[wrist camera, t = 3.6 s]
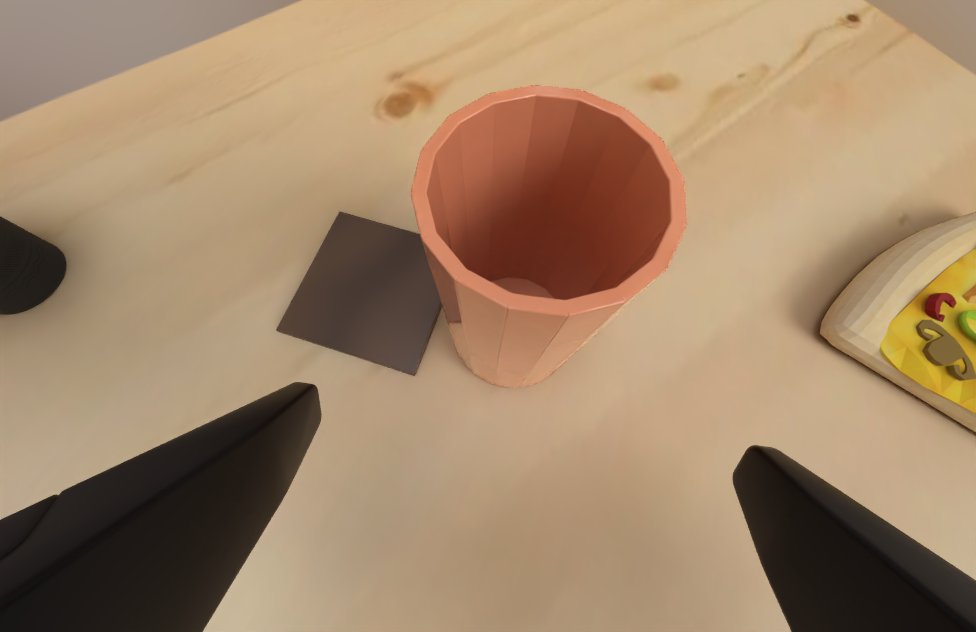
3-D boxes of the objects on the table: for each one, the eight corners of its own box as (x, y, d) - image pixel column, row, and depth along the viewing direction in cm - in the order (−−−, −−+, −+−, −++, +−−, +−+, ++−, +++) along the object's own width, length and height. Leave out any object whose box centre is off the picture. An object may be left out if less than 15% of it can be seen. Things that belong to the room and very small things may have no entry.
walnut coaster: (463, 249, 22) (462, 246, 22) (414, 376, 20) (413, 374, 19) (341, 214, 23) (339, 211, 23) (279, 332, 20) (275, 330, 20)
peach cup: (593, 339, 20) (744, 208, 9) (502, 413, 19) (531, 376, 7) (520, 256, 22) (561, 51, 10) (430, 318, 21) (361, 163, 9)
